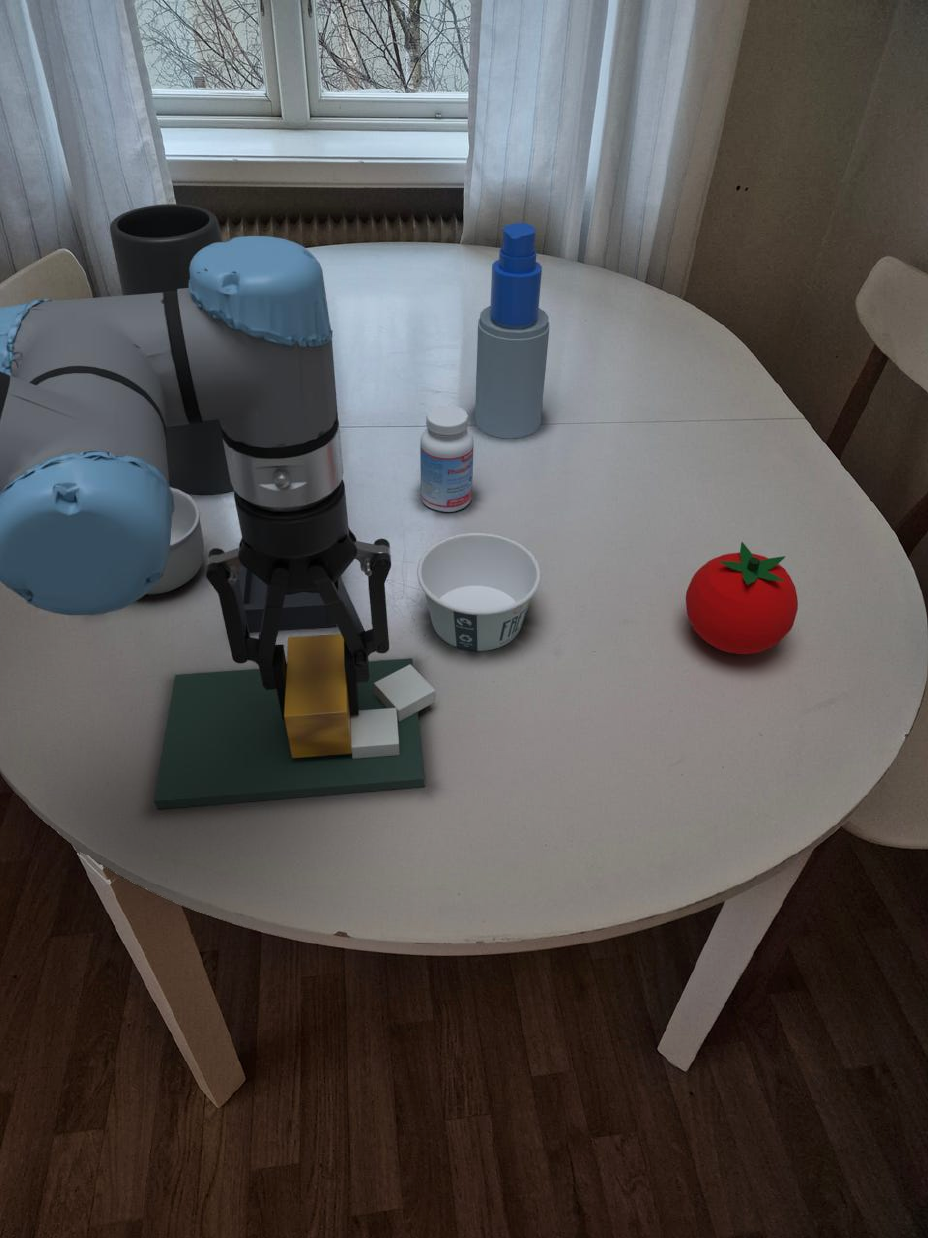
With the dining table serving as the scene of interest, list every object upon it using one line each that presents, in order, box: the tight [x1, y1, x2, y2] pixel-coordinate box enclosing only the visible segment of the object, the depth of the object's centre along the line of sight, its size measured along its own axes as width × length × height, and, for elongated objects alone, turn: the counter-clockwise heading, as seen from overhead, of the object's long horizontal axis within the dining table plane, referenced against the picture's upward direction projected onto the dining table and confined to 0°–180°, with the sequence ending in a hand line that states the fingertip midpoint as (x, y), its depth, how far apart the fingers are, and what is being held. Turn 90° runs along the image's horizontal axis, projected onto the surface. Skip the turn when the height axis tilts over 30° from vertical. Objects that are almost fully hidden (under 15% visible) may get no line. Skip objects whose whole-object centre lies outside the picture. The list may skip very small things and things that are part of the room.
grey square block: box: [351, 708, 400, 759], centre depth 74 cm, size 4×4×2 cm
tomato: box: [685, 541, 799, 655], centre depth 83 cm, size 10×10×10 cm
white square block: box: [374, 664, 436, 721], centre depth 78 cm, size 4×4×2 cm
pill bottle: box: [419, 404, 475, 513], centre depth 99 cm, size 6×6×11 cm
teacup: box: [145, 487, 205, 595], centre depth 88 cm, size 14×11×8 cm
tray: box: [239, 566, 338, 633], centre depth 90 cm, size 10×14×3 cm
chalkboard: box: [153, 657, 425, 810], centre depth 76 cm, size 22×14×1 cm, turn 97°
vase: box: [109, 203, 234, 496], centre depth 97 cm, size 14×14×29 cm
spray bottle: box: [474, 222, 550, 440], centre depth 107 cm, size 9×9×25 cm
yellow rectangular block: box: [284, 633, 352, 758], centre depth 74 cm, size 5×9×6 cm, turn 6°
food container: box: [416, 532, 542, 652], centre depth 85 cm, size 12×12×6 cm
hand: (320, 705), depth 75 cm, fingers closed on yellow rectangular block, 5 cm apart
